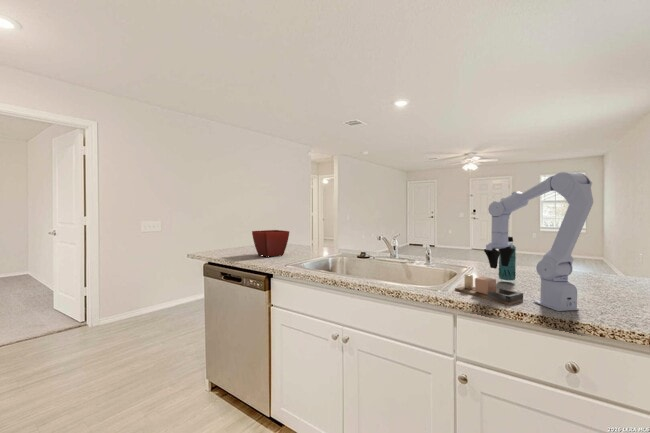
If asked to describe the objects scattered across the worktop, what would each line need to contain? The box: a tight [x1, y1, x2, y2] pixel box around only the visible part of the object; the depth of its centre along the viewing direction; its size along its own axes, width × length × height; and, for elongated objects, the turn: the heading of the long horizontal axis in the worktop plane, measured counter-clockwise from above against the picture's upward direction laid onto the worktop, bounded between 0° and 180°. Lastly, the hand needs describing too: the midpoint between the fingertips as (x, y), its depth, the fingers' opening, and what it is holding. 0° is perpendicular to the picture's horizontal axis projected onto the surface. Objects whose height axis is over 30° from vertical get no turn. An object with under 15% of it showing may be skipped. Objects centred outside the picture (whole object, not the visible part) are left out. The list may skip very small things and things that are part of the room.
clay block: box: [463, 273, 497, 295], centre depth 118 cm, size 11×5×5 cm, turn 30°
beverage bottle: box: [497, 236, 517, 281], centre depth 133 cm, size 6×7×20 cm
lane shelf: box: [454, 285, 524, 306], centre depth 114 cm, size 21×8×3 cm, turn 30°
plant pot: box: [251, 229, 290, 258], centre depth 209 cm, size 19×19×17 cm
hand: (499, 267), depth 120 cm, fingers open, 7 cm apart
